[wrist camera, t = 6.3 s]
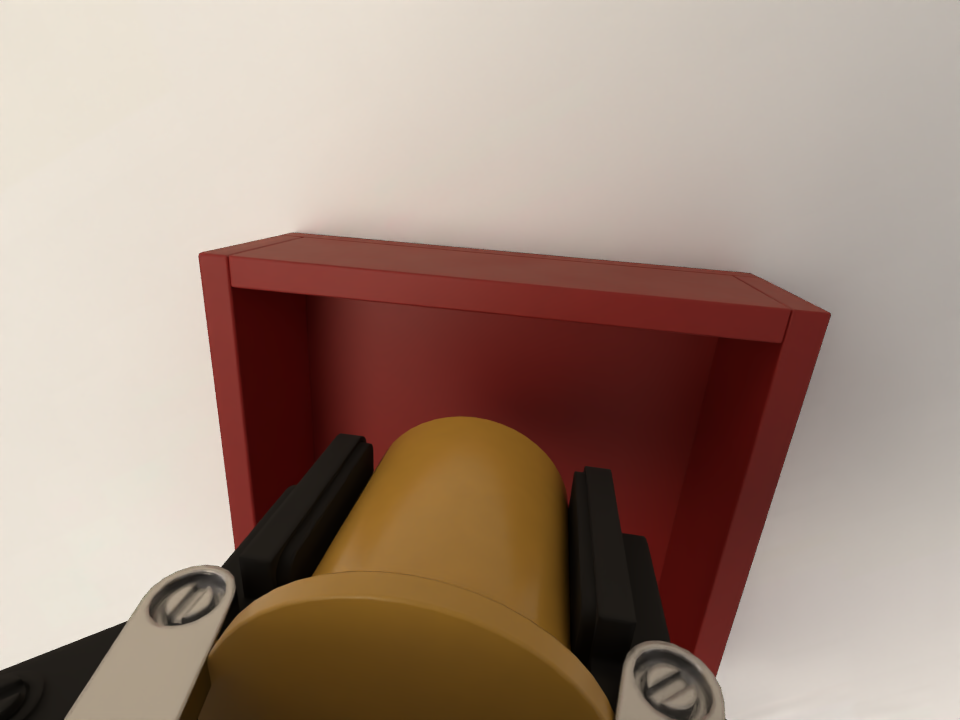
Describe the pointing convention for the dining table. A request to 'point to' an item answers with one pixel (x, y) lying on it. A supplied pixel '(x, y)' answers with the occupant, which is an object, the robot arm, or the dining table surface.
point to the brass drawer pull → (424, 598)
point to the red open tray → (524, 383)
